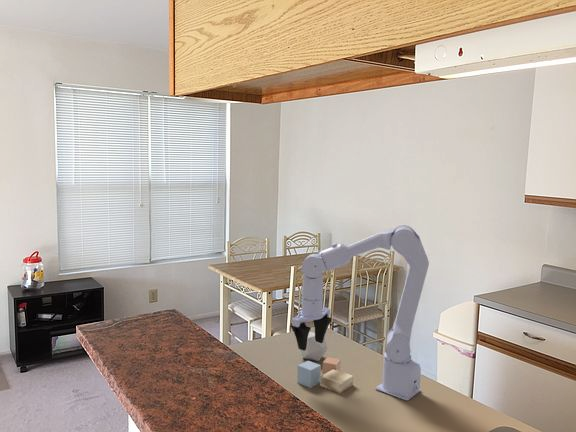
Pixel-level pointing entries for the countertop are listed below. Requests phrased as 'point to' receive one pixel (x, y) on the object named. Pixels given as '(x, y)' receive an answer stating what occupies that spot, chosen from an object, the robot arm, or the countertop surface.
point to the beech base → (336, 380)
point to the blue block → (309, 374)
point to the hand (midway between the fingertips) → (310, 345)
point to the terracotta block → (330, 365)
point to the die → (314, 348)
